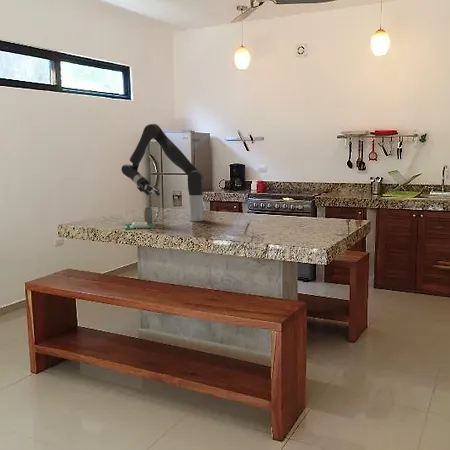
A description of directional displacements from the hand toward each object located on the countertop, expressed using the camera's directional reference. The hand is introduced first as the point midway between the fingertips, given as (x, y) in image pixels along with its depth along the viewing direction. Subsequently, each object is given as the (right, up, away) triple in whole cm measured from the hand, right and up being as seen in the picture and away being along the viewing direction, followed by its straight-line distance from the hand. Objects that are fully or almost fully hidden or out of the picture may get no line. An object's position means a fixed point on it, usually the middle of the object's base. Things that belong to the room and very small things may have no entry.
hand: (154, 194), depth 326 cm
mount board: (-7, -21, -12) cm, 25 cm away
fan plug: (-3, -19, +1) cm, 19 cm away
